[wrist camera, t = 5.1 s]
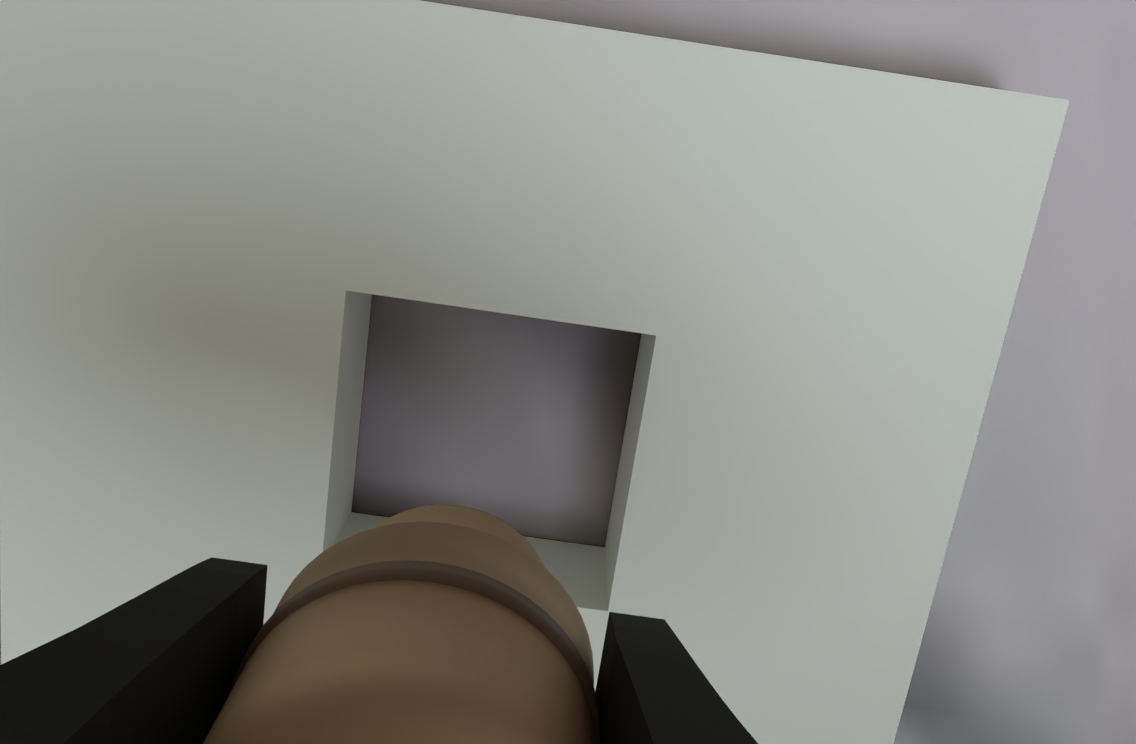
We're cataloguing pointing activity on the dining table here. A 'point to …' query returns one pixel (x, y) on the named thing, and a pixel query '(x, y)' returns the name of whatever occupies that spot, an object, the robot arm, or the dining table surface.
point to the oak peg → (419, 644)
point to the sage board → (505, 308)
